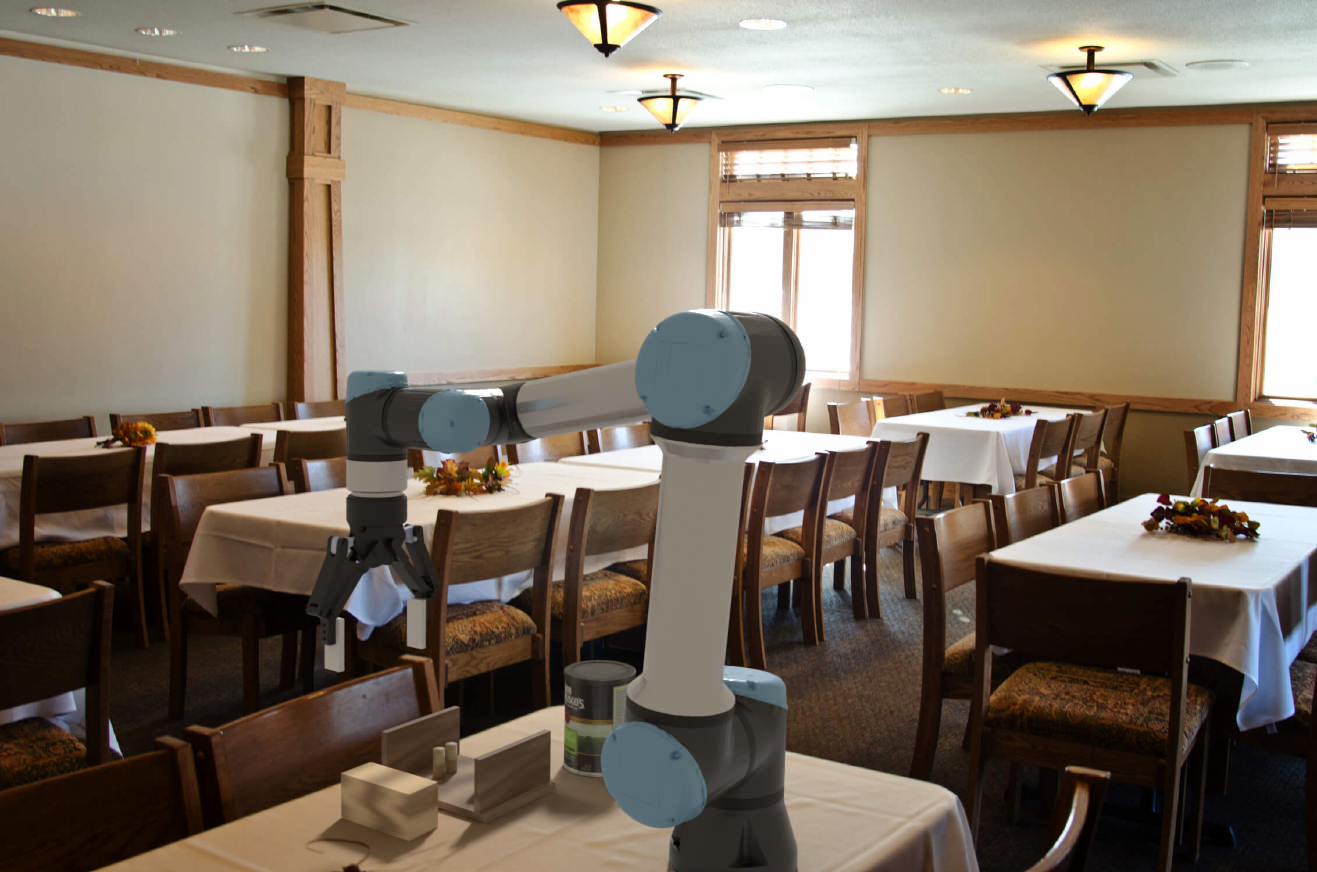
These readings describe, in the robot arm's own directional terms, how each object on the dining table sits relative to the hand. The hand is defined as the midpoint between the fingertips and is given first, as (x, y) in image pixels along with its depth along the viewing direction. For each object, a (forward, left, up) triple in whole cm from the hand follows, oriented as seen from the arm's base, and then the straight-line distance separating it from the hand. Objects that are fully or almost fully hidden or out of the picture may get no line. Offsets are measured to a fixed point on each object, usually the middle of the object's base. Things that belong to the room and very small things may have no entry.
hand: (376, 658), depth 150 cm
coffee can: (-12, -31, -21) cm, 39 cm away
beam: (-3, +1, -21) cm, 21 cm away
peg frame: (-3, -13, -20) cm, 24 cm away
